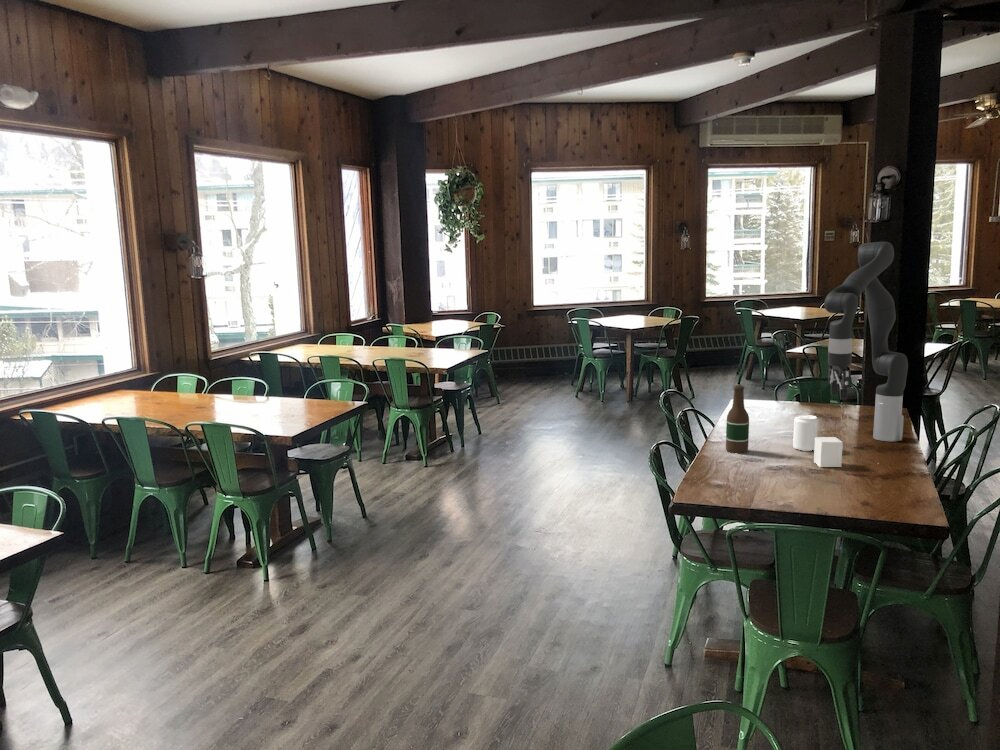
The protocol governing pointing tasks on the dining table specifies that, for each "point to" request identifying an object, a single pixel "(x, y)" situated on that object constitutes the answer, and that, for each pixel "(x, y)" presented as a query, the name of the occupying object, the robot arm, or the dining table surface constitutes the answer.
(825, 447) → the white matte cube
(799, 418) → the beverage can
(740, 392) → the beer bottle
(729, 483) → the dining table surface
